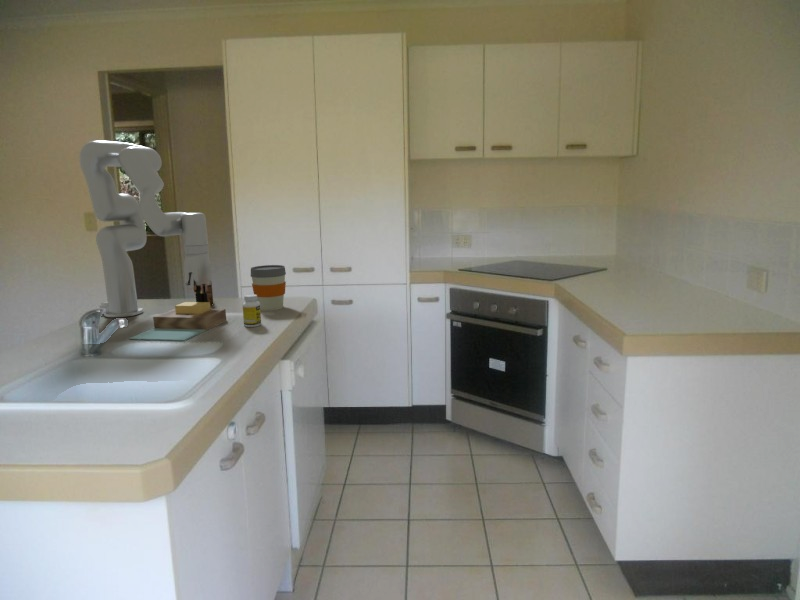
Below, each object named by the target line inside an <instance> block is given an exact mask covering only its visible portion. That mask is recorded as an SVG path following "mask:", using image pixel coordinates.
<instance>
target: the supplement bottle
mask: <svg viewBox="0 0 800 600" xmlns="http://www.w3.org/2000/svg"><path fill="white" fill-rule="evenodd" d="M243 297H244V302H243V303H242V315H243V326H244V327H246V328H254V327H255V328H256V327H259V326H261V325H262V315H261V313H262V312H261V310H260V303H259V302H258V301H257V295H255V294H254V293H253V294H245V295H243Z"/></svg>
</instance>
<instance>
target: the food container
mask: <svg viewBox="0 0 800 600" xmlns="http://www.w3.org/2000/svg"><path fill="white" fill-rule="evenodd" d="M212 283H213V282H212V280H211V281H210V284H209V285H208V286H207V292H205V293H207V302H210V306H213V305H214V297H213V296H214V293H213V284H212ZM212 304H213V305H212Z"/></svg>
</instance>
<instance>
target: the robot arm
mask: <svg viewBox="0 0 800 600" xmlns="http://www.w3.org/2000/svg"><path fill="white" fill-rule="evenodd" d="M78 156H79V157H78V158H79V161H78V162H79V167H80V169H81V171H82V174H83V176H84V178H85V182H86V185H87V189H88V193H89V197H90V201H91V205H92V209H93V211H94V215H95V217H96V219H98V220H99V221H101V222H108V223H109V222H120V223H121V224H114V225H112V224H111V225H107V226H104V227H101V228H100V229H99V230H98V231H97V232H96V234H95V235H96V236H95V242H96V245H97V249H98V251H99V254H100V258H101V262H102V269H103V277H104V283H105V284H104V286H105V293H106V299H107V301H106V302H103V301H102V302H101V303H100V305H99V309H105V311H104V313H103V315H104V317H106V318H126V317H132V316H137V315H140V314H142V313H144V308H143V307H139V304H138V296H137V287H136V280H135V272H134V270H135V269H134V264H133V261H132V259H131V257H130V256H129V254H128V253H127V252H132V251H136V250H137V251H138V250H140V249H142V248H144V247H145V246H146V243H147V240H148V238H147V237H148V235H147V231H146V226H145V223H146V224H147V226H148V227H149V229H150V230H151V231H152V232H153V233H154V234H155V235H157V236H159V237H171V236H178V235H179V236H181V235H182V237H183V238H182V239H183V247H184V255H185V256H184V263H183V264H184V265H183V267H184V269H183V271H184V283H185V285H186V286H189V289H190V290H192V291H193V292H194V295H195V302H207V293H205V292H207V286H208V285H209V284H210V281H212V279H213V277H212V276H213V273H212V266H211V260H210V256H209V255H210V250H209V249H210V248H209V239H208V230H207V229H208V227H207V219H206V218H207V217H206V215H205V213H203V212H184V211H174V212H173V211H172V212H163V210H162V209H161V208H160V206H159V204H158V203H157V201H156V195H158V194H159V193H160V192H161V191H162V190H163V189H164V185H165V183H164V181H163V179H162V177H161V176H160V174H158V172H159V170H160V169H161V168H162V164H163V163H162V158H161V155H160V154H159V153H158V152H157V151H156V150H155V149H153V148H152V147H147V146H143V145H138V144H134V143H129V142H123V141H113V140H90V141H88V142H86V143H85V144H84V145H83V146H82V147H81V149H80V151H79V155H78ZM107 167H112V168H113V167H115V168H122V169H123V171H124V173H125V175H126V176H127V177H128V178H129V180H130V181H131V183H132V184H133V186H134V187H135V189H136V190H137V192H138V194H139V199H138V200H139V201H138V200H137V199H136V198H135V197H134V196H133V195H131V194H129V193H118V190H117V187H116V181H115V180H114V178H113V176H112V175H111V173H110V172H109V171H108V170H107Z"/></svg>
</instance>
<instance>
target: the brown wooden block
mask: <svg viewBox="0 0 800 600" xmlns="http://www.w3.org/2000/svg"><path fill="white" fill-rule="evenodd" d="M152 319H153V328H163V329H205V330H206V331H209V330H210V329H212V328H214V327H217V326H218V325H220V324H222V323H224V322H226V321H227V313H226V308H211V310H209V311H206V312H204V313H202V314H191V313H176V311H175V308H172V309H170V310H166V311H165V312H161V313H160V314H157V315H154V316H153V317H152Z"/></svg>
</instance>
